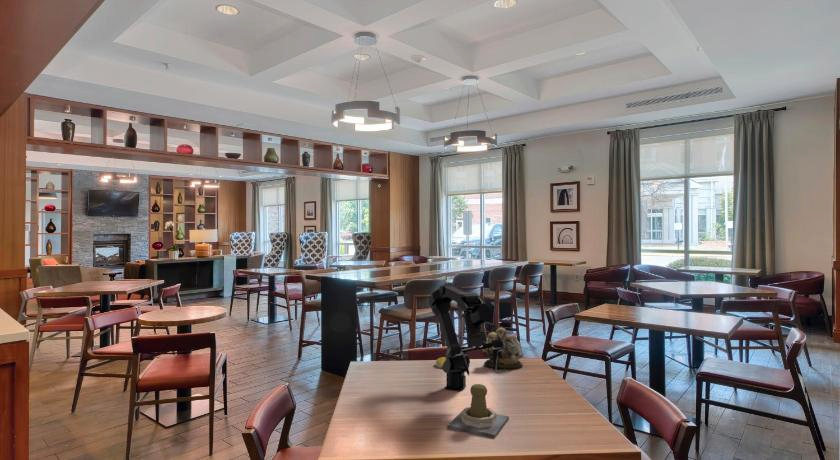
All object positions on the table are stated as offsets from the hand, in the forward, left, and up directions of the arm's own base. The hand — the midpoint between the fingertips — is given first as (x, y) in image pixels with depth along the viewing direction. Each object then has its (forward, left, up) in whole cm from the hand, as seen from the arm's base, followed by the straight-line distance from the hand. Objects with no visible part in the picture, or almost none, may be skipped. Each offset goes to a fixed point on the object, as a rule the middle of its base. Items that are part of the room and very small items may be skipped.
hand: (481, 373), depth 163 cm
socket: (+4, -15, -11) cm, 19 cm away
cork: (+4, -15, -10) cm, 18 cm away
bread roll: (-29, +38, -12) cm, 49 cm away
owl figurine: (-7, +49, -11) cm, 51 cm away
